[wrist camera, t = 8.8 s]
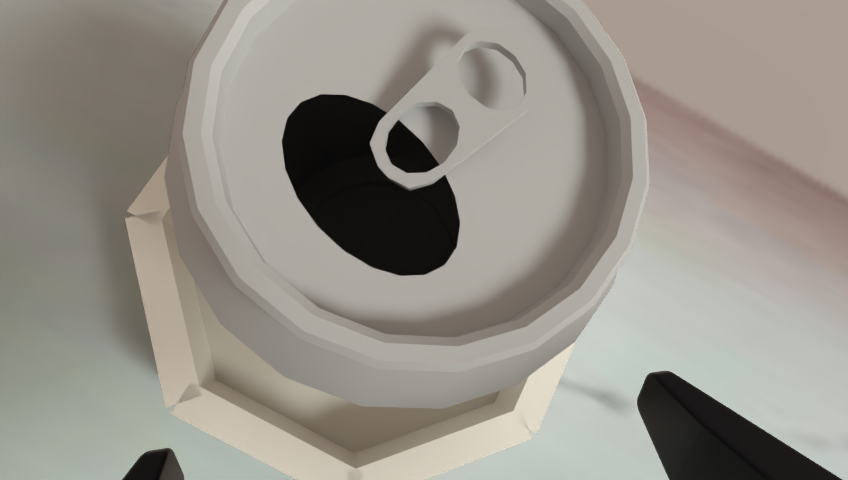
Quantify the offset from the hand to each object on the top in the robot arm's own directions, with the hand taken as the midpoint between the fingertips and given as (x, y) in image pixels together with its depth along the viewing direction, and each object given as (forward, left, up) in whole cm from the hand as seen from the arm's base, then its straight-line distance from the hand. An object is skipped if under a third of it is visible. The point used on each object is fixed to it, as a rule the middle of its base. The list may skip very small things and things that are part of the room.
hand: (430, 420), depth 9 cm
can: (+3, +3, -8) cm, 9 cm away
